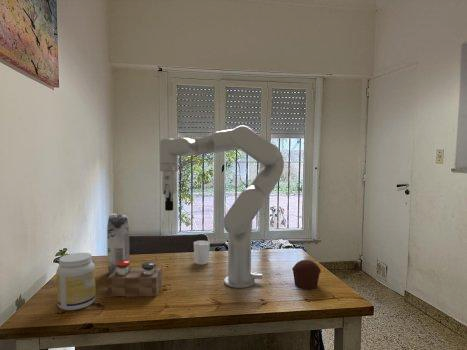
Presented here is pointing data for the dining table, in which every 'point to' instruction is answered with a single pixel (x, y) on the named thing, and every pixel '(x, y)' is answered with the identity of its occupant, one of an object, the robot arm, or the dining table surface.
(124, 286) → the wooden slotted frame
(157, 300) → the dining table surface
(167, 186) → the robot arm
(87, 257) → the supplement tub
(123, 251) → the juice carton
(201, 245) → the white cup
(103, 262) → the dining table surface
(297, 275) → the muffin
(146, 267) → the grey capped peg
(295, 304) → the dining table surface
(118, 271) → the red plug
